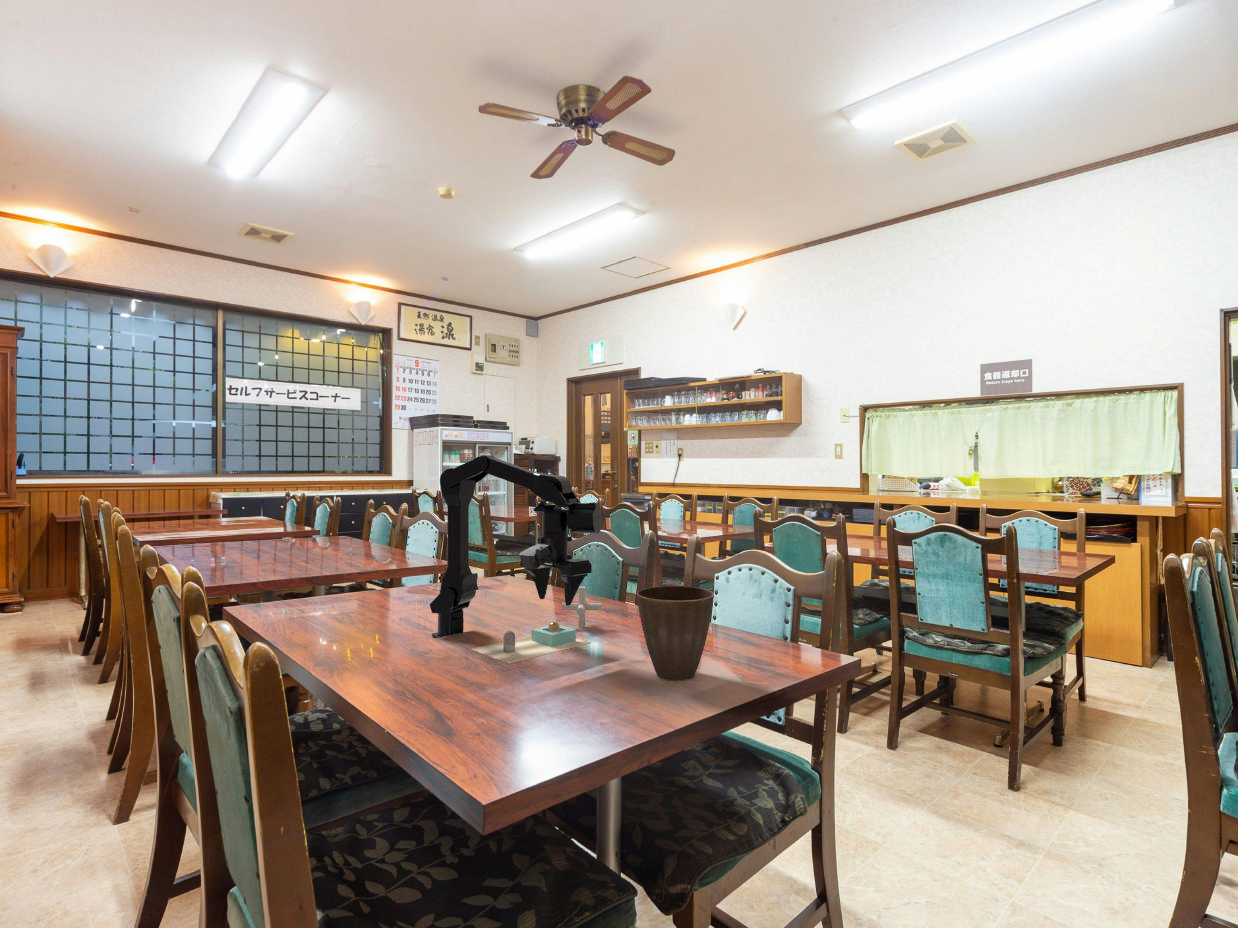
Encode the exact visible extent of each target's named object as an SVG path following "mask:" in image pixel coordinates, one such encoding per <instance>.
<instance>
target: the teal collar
mask: <svg viewBox="0 0 1238 928" xmlns="http://www.w3.org/2000/svg"><path fill="white" fill-rule="evenodd" d="M559 627H560V631H558V632H554V633H552V632H549V625H546V626H541V627H537V628H532V629H531V636H532V641H535V642H538V643H541V644H544V645H547V646H550V647H553V646H557V645H561V644H565V643H570V642H574V641H576V638H577V629H576V628H572V627H567V626H564V625H560V624H559Z"/></svg>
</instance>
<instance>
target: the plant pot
mask: <svg viewBox="0 0 1238 928" xmlns="http://www.w3.org/2000/svg"><path fill="white" fill-rule="evenodd" d="M636 598H637V604H638V610H639V611H638V613H639V618H640V622H641V628H642V631H643V636H644V639H645V644H646V647H647V651H648V655H649V657H650V660H651V664H652V666H653V669H654V671H655V674H656V676H657V677H658V678H660V679H662V680H666V681H672V682H681V681H682V682H683V681H687V680H691V679H692V678H694V677H695V675H696V673H697V671H698V667H699V665H700V662H701V660H702V659H701V658H702V656H703V653H704V649H705V645H706V641H707V637H708V634H709V629H710V625H711V624H710V623H711V618H712V612H713V605H714V598H715V593H714V592H713V591H712V590H709V589H705V588H701V587H695V586H684V585H663V586H662V585H661V586H651V587H647V588H642V589H640V590H638V591H637V592H636Z"/></svg>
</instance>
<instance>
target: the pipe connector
mask: <svg viewBox="0 0 1238 928" xmlns="http://www.w3.org/2000/svg"><path fill="white" fill-rule="evenodd" d="M586 591H587V590H586V586H581V585H580V586H579V588H578V590H577V592H578V595H577V596H578V597H577V599H578V600H577V601H578V602H572V603H571V605H568V606H567V605H566V603H565V602H562V603H561V611H576V613H577V615H578V616H577V619H578V620H577V622H578V623H577V627H578V628H586V611H602V608H603V604H602V602H600V603H599V602H587V600H586Z"/></svg>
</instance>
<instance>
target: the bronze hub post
mask: <svg viewBox="0 0 1238 928" xmlns="http://www.w3.org/2000/svg"><path fill="white" fill-rule="evenodd" d="M559 625H560V624H559V622H556V621H552V622H550V624H548V626H549V632H552V633H554V632H558V631H560V627H559Z"/></svg>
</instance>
